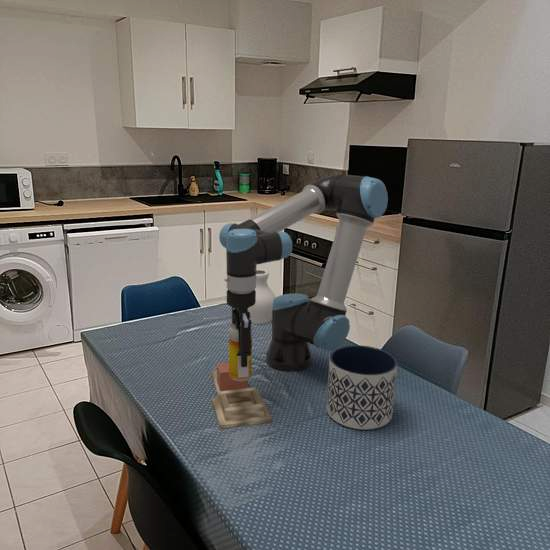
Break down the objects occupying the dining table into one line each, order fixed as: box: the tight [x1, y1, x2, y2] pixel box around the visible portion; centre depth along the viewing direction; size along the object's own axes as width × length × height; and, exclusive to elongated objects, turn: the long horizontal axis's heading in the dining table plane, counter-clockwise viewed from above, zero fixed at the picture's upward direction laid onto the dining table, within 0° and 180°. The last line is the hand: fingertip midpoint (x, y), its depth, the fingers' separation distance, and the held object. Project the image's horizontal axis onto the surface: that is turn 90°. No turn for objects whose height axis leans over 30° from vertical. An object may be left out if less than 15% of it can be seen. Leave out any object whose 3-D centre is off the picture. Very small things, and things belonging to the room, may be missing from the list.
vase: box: [248, 268, 276, 325], centre depth 208 cm, size 14×14×20 cm
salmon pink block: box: [216, 362, 248, 391], centre depth 156 cm, size 8×6×6 cm
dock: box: [210, 369, 273, 430], centre depth 152 cm, size 14×31×4 cm, turn 15°
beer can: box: [228, 323, 253, 381], centre depth 139 cm, size 6×6×15 cm
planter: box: [326, 344, 398, 430], centre depth 143 cm, size 18×18×16 cm
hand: (240, 370), depth 141 cm, fingers closed on beer can, 6 cm apart
